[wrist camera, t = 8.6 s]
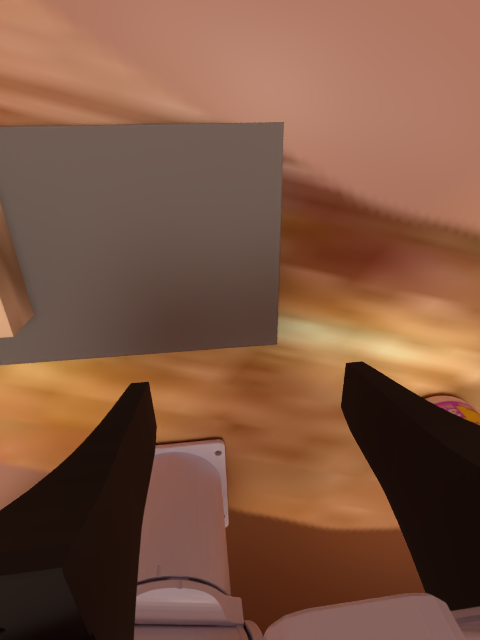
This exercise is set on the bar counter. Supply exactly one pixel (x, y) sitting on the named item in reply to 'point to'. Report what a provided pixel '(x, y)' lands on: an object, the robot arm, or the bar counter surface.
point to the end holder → (11, 287)
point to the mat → (143, 237)
